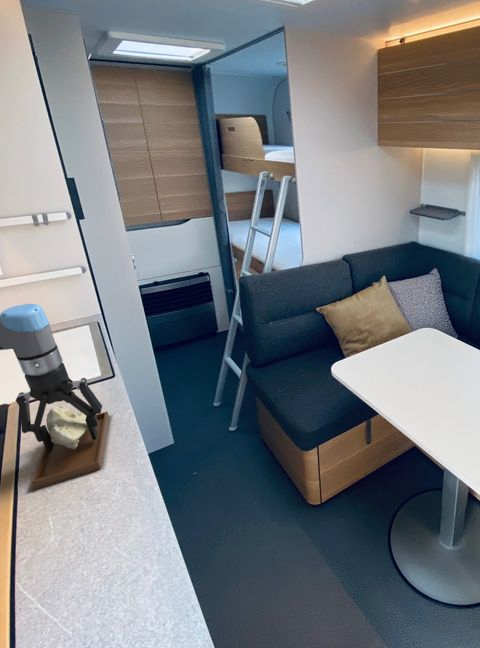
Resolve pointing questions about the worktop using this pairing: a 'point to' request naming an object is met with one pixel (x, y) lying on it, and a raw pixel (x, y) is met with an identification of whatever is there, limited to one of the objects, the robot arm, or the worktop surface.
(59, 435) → the cheese
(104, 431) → the holder
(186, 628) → the worktop surface
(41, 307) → the robot arm
